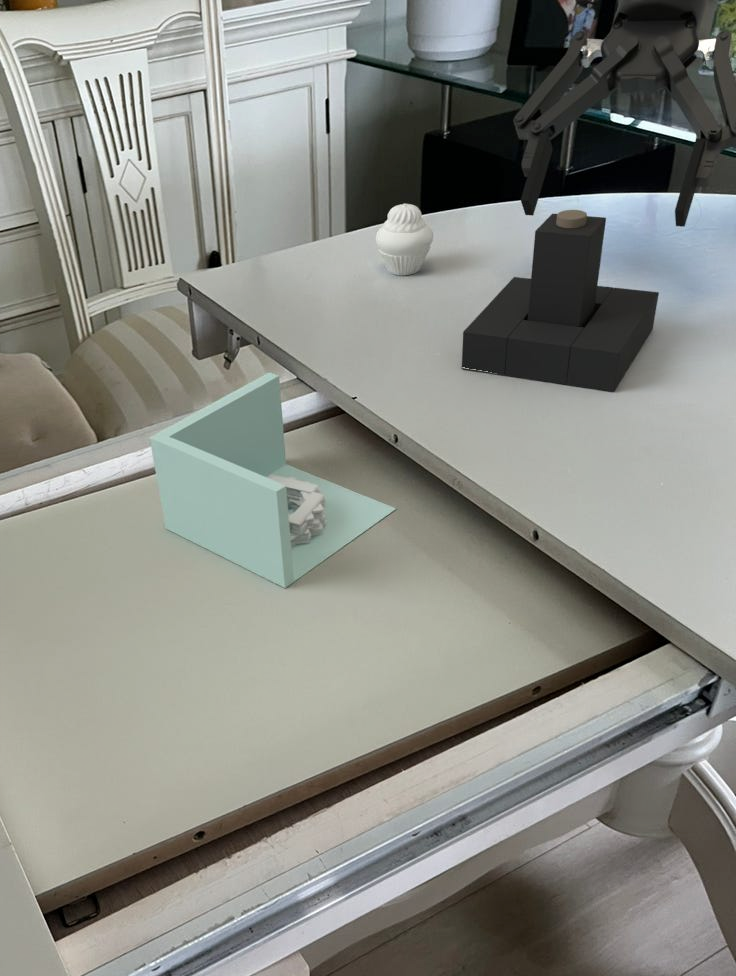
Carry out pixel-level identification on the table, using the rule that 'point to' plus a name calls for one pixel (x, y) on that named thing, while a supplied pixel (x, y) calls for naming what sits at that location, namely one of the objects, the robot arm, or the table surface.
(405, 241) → the muffin
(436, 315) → the table surface
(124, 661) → the table surface
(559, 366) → the base pad
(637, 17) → the robot arm
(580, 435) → the table surface
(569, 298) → the pad post
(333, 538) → the right angle wall
